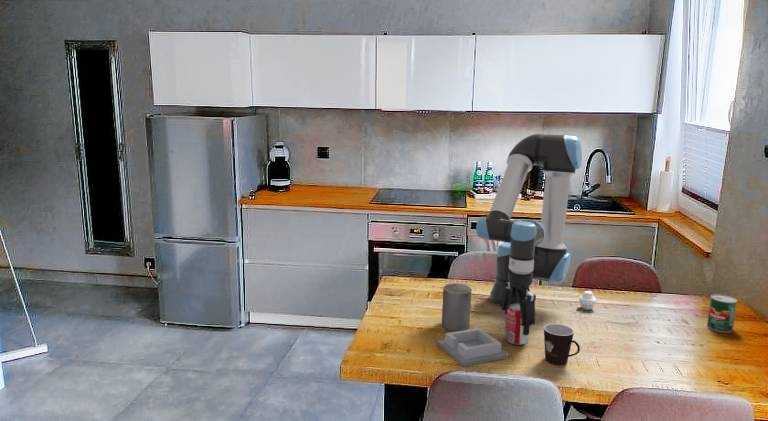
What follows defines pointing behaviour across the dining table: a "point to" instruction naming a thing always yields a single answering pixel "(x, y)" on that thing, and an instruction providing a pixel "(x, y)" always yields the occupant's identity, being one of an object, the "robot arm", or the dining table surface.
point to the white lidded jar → (587, 300)
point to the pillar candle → (456, 307)
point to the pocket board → (472, 347)
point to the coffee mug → (558, 343)
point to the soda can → (513, 324)
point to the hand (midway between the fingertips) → (516, 338)
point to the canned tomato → (721, 313)
